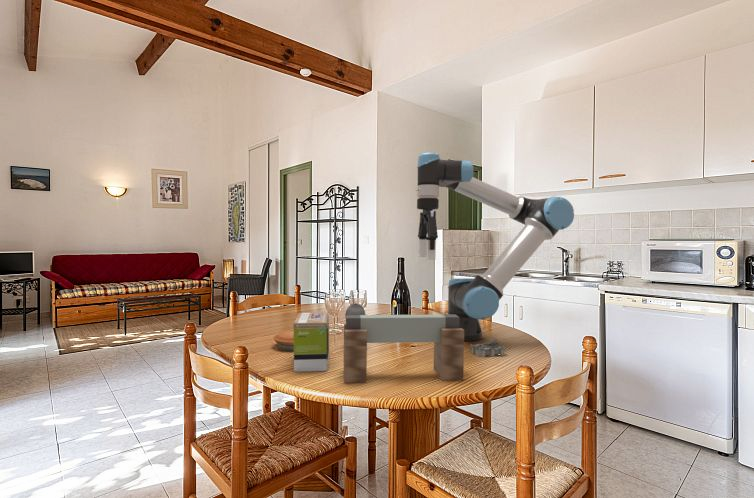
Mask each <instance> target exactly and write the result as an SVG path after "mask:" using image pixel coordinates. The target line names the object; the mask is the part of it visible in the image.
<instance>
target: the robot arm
mask: <svg viewBox="0 0 754 498" xmlns="http://www.w3.org/2000/svg"><path fill="white" fill-rule="evenodd" d="M416 168H417V187H416V188H415V191H416V192H417V194H416V196H417V199H416V209H417V210H422V211H421V212H420V214H419V224H418V225H419V226H418V234H417V238H418V239H419V240H418V246H419V247H418V257H419V258H426V260H428V261H429V260H430V261H433V260H434V261H436V255H437V254H436V246H437V245H436V243H437V239H438V237H439V235H438V227H437V214H436V213H437V211H436V210H438V209H439V207H440V206H439V196H440V187H441V188H446V189H449V190H452V191H455V192H456V193H459V194H462V195H463V196H465V197H467V198H470V199H473V200H474V201H477V202H479V203H482V204H484V205H486V206H488V207H491V208H493V209H495V210H498V211H500V212H502V213H505V214H507V215H508V217H509V219H511V220H513V221H516V222H518V223H521V224H523V225H524V227H523V228H522V229H520V231H519V232H518V233H517V234H516V236H515V237H514V238H513V239H512V240H511V242H510V243H509V244H508V245H507V247H505V249H504V250H503V251H502V252H501V253H500V255H498V257H497V258H496V259H495V260H494V261H493V263H492V264H491V265H490V266H489V267H488V268H487V270H486V271H485V272H484V273H480V274H479V273H478V274H476V276H475V277H473V278H467V277H466V278H451V279H449V280H448V286H447V289H448V290H447V293H448V295H447V297H448V299H447V314H456V315H457V316H458V317H459V328H462V329H463V330H464V342H474V341H475V342H476V341H480V340H482V339H483V330H482V327H481V323H480V320H487V319H489V318H491V317H493V316H494V315H495V314H496V313H497V311H498V310H499V307H500V300H501V299H502V297H504V288H505V287H506V286H507V285H508V284H509V282H510V281H511V280H512V279H513V278H514V277H515V276H516V274H517V273H518V272H519V271H520V270H521V269H522V267H524V265H525V264H526V263H527V262H528V261H529V259H531V257H532V256H533V255H534V253H535V252H536V251H537V250H538V248H539V247H541V245H542V244H543V243H544V242H545V241H546V240H548V241H549V240H552V239H553V238H554V237H555V235H557V233H558V232H559V231H560V230H561V231H564V230H565V229H568V228H569V227H570V226H571V224H572V223H573V221H574V218H575V209H574V206H573V205H572V203H571V202H570V201H569V200H568V199H566V198H565V197H562V196H550V197H546V198H545V197H544V198H539V199H538V198H537V199H536V198H535V199H533V198H528V197H526V196H523V195H519V196H516V195H514V194H511V193H509V192H507V191H505V190H503V189H500V188H498V187H496V186H494V185H492V184H489V183H487V182H484V181H482V180H480V179H478V178H476V177H474V169H475V168H474V165H473V162H472V161H470V160H464V159H462V160H458V159H457V160H456V159H455V160H454V159H441V157H440V154H439V153H437V152H424V153H420V154H419V155H418V157H417V167H416Z"/></svg>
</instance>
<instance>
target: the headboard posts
mask: <svg viewBox="0 0 754 498" xmlns="http://www.w3.org/2000/svg"><path fill="white" fill-rule="evenodd" d="M367 353H368V343H367V330H366V329H356V330H346V322H345V323H343V383H345V384H353V383H354V384H357V383H361V384H362V383H367V375H368V374H367V371H368V370H367V365H368V362H367V361H368V356H367V355H368V354H367ZM464 363H465V341H464V330H463V329H462V328H443V329H441V342H433V370H434V371H435V372H436V374H437V375H438V377H439V379H441V381H445V382H446V381H464V366H465V365H464Z"/></svg>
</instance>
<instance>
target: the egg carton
mask: <svg viewBox="0 0 754 498" xmlns="http://www.w3.org/2000/svg"><path fill="white" fill-rule="evenodd" d="M470 347H471V352H472V353H471V354H475V356H476V357H480V356H482V357H481V358H485V357H484V356H485V355H491V356H490V357H495V355H494V354H500V355H503V354H504V353H506V350H507V347H506V346H504V345H501V343H500V342H499V341H498V339H491V340H488V342H483V343H477V344H470ZM504 355H505V354H504ZM504 355H503V356H504Z"/></svg>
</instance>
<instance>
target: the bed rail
mask: <svg viewBox="0 0 754 498" xmlns="http://www.w3.org/2000/svg"><path fill="white" fill-rule="evenodd" d="M345 323H346V330H356V329H366V330H367V344H381V343H382V344H385V343H386V344H390V343H391V344H393V343H398V344H399V343H434V342H441V329H443V328H459V317H458V316H457V315H456V314H448V313H447V314H443V313H442V314H366V315H346V316H345Z"/></svg>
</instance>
